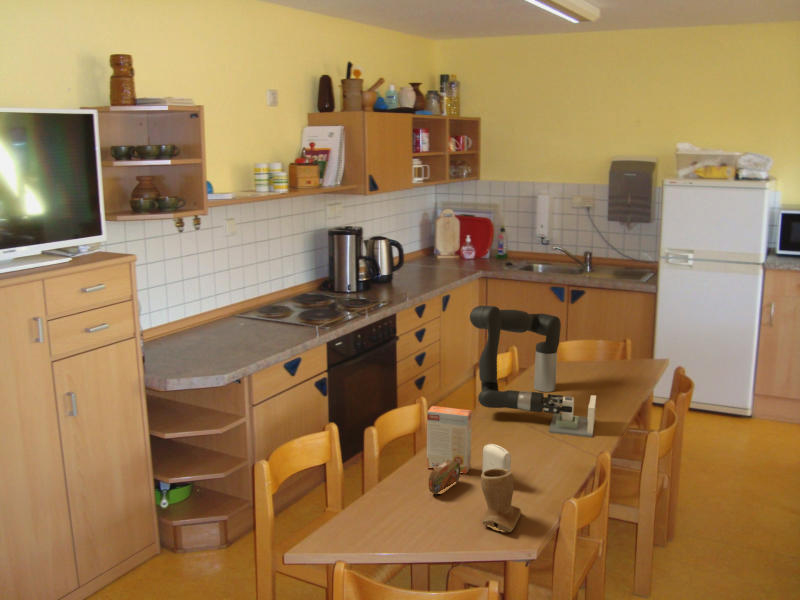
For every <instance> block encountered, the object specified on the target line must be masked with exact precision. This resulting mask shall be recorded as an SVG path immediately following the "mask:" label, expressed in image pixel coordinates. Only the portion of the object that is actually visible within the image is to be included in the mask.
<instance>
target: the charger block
mask: <svg viewBox="0 0 800 600" xmlns="http://www.w3.org/2000/svg"><path fill="white" fill-rule="evenodd" d="M561 406H571V407H572V412H571V413H569V412H561V414H562V421H568V422H573V416H574V407H575V398H574V397H573V396H572V395H565V396H563V403H562V404H561Z"/></svg>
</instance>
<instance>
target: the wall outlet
mask: <svg viewBox="0 0 800 600" xmlns="http://www.w3.org/2000/svg"><path fill="white" fill-rule="evenodd" d="M596 403H597V395H594V394H593V395H590V399H589V403H588V405H587V406H588V408H587V413H586V414H587V416H580V415H573V422H568V421H562V413H561V414H560V413H559V414H555V413H552V414H553V415H552V418H551V422H550V426H549V429H548V433H549V432H550V434H557V433H558V435H565V434H567V435H568V436H573V437H574V436H576V437H585V438H593V434H594V428H595V422H596V407H597V406H596V405H597V404H596ZM567 435H566V436H567Z"/></svg>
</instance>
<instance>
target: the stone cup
mask: <svg viewBox="0 0 800 600" xmlns="http://www.w3.org/2000/svg"><path fill="white" fill-rule="evenodd" d="M480 485H481V486H480V487H481V490H482V494H483V495H484V500H485V502H486V505H487V509H486V510H485V513H484V516H483V518H482V520H481V524H482V525H484V524H486V525H490V526H492V527H496V528H498V529H499V530H503V531H507V532H506V533H511V532H512V531H513V530H514V528H515V527H516V526H517V523H518V521H519V518H520V517H521V513H522V511H521V508H520V507H518V506H515V505H512V501H513V494H514V491H515V484H514V475H513V474H512V471H511V472H510V471H509V470H507V469H501V468H494V469H488V470H486V471H484V472H483V471H482V473H481V475H480Z"/></svg>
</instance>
